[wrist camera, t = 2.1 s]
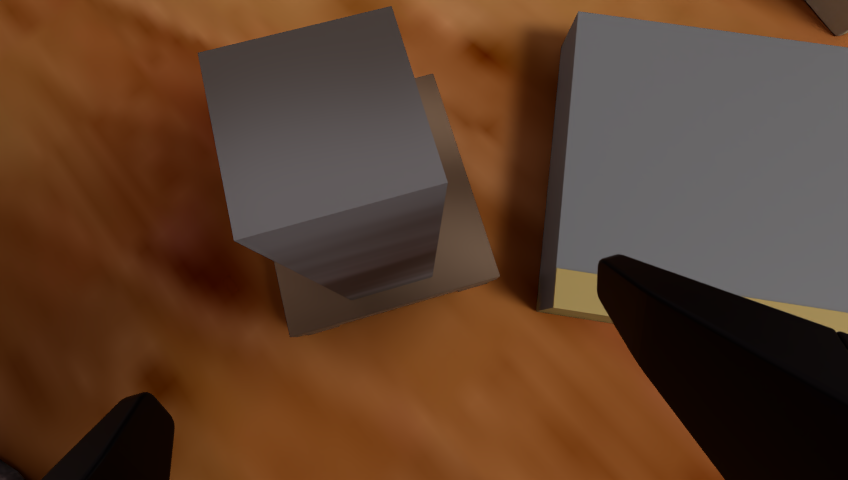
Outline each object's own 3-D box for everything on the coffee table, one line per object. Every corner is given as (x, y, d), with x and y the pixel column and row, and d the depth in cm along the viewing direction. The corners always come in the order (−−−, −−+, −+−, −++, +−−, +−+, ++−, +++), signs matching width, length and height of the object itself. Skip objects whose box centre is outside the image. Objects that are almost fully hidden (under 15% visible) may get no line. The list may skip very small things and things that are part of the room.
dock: (826, 357, 19) (889, 360, 16) (536, 311, 19) (553, 307, 17) (810, 81, 22) (861, 47, 19) (561, 47, 22) (579, 9, 20)
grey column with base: (492, 281, 19) (623, 180, 7) (303, 336, 19) (59, 337, 6) (432, 96, 22) (445, -244, 9) (259, 140, 21) (14, -156, 8)
